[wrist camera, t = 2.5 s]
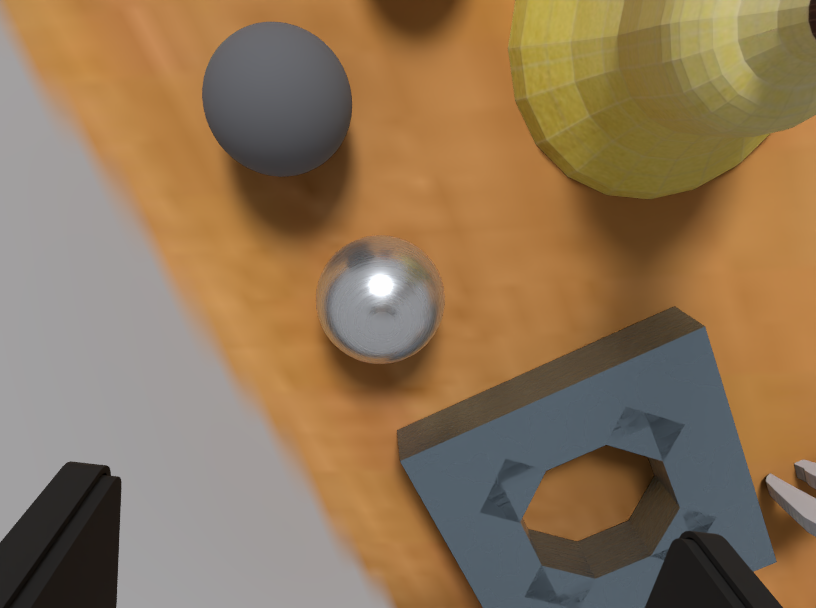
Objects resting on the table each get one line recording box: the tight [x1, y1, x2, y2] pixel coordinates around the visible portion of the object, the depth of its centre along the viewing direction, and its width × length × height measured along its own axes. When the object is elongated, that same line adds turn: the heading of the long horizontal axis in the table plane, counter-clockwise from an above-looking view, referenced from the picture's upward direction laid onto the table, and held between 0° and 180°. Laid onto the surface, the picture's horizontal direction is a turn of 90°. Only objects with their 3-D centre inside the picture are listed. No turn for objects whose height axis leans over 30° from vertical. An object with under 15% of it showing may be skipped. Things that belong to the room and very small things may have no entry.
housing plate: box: [397, 306, 777, 608], centre depth 28 cm, size 14×14×2 cm
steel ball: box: [316, 235, 445, 364], centre depth 23 cm, size 5×5×5 cm
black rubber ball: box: [202, 22, 352, 177], centre depth 20 cm, size 5×5×5 cm
